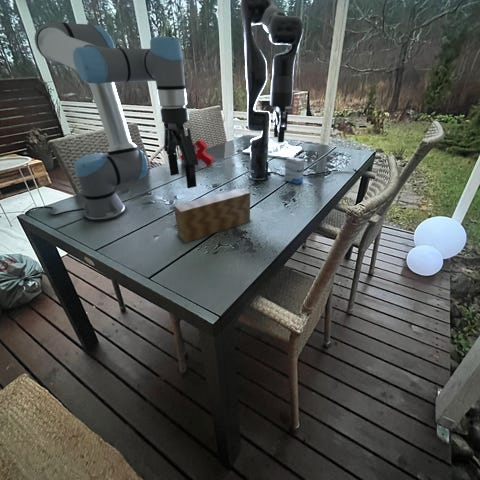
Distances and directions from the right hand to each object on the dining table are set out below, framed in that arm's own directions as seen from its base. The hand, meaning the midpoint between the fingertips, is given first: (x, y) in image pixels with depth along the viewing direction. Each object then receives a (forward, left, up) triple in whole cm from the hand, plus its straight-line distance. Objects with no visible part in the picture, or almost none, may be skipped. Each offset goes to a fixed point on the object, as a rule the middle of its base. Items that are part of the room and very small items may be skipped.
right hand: (278, 139), depth 102 cm
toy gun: (+37, -64, -28) cm, 79 cm away
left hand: (+34, +21, -7) cm, 41 cm away
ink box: (-16, -30, -28) cm, 44 cm away
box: (+25, +16, -28) cm, 41 cm away
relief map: (-15, -90, -28) cm, 96 cm away
